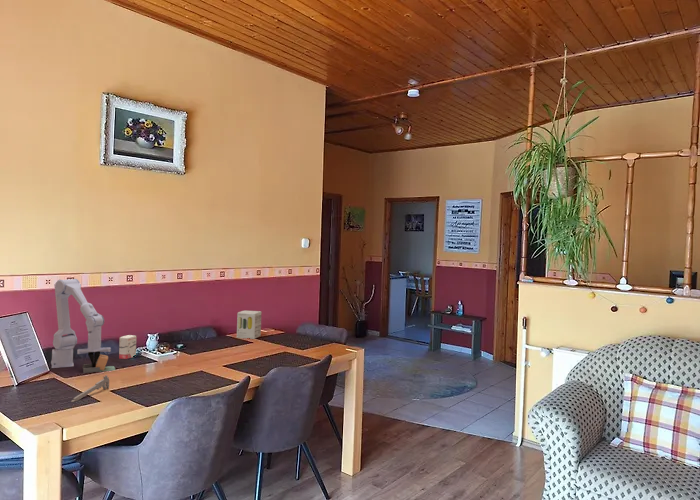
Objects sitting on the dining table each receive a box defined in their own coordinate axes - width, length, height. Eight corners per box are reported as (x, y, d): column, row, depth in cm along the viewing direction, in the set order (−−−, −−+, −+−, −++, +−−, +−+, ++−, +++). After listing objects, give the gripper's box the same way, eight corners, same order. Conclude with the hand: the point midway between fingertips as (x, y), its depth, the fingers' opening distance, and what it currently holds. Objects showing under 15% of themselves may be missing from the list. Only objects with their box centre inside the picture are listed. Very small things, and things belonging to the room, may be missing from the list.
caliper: (107, 388, 215) (107, 374, 215) (109, 388, 215) (109, 374, 215) (70, 402, 195) (71, 387, 195) (72, 403, 195) (73, 387, 195)
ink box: (126, 359, 266) (126, 338, 266) (118, 359, 267) (118, 337, 267) (136, 356, 274) (136, 335, 274) (128, 355, 275) (129, 334, 275)
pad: (99, 372, 239) (99, 371, 239) (98, 368, 247) (98, 367, 247) (115, 370, 243) (115, 370, 243) (114, 366, 250) (114, 365, 250)
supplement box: (236, 337, 337) (236, 312, 337) (243, 334, 350) (244, 310, 350) (254, 339, 335) (255, 313, 334) (261, 335, 348) (261, 311, 347)
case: (83, 373, 236) (83, 368, 236) (82, 366, 248) (82, 361, 248) (99, 372, 239) (99, 367, 239) (98, 365, 252) (98, 360, 252)
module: (95, 368, 239) (99, 356, 240) (95, 365, 245) (99, 354, 246) (103, 370, 241) (108, 358, 242) (103, 367, 247) (107, 355, 247)
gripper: (77, 342, 235) (76, 370, 235) (111, 340, 242) (110, 367, 242) (77, 339, 241) (76, 367, 241) (110, 337, 248) (109, 364, 248)
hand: (93, 367), depth 242 cm, fingers closed
